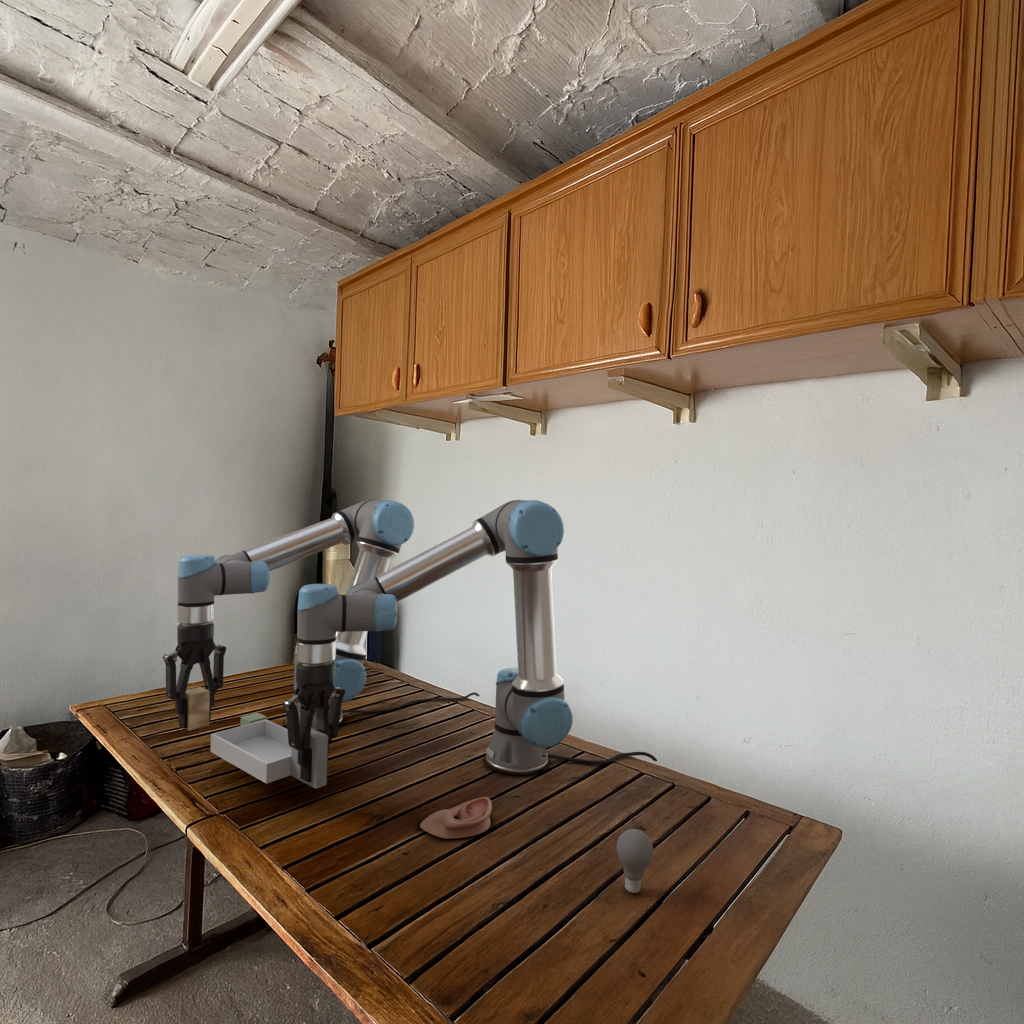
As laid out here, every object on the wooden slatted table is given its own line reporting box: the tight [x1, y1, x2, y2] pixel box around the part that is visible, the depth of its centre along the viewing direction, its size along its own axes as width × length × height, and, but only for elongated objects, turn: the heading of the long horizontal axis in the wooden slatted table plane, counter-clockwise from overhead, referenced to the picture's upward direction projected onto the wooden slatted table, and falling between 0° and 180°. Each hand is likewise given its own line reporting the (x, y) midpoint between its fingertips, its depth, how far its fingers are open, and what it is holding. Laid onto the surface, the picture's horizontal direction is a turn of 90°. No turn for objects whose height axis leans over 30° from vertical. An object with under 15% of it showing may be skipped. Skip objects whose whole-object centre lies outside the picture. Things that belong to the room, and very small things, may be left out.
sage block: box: [239, 712, 268, 726], centre depth 157 cm, size 4×4×8 cm
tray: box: [209, 719, 328, 790], centre depth 136 cm, size 32×13×10 cm, turn 51°
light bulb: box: [615, 828, 654, 894], centre depth 106 cm, size 6×6×10 cm
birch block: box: [184, 686, 210, 731], centre depth 145 cm, size 4×4×8 cm
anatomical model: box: [419, 796, 493, 840], centre depth 124 cm, size 13×4×12 cm
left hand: (194, 723), depth 145 cm, fingers closed on birch block, 4 cm apart
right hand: (312, 777), depth 128 cm, fingers closed on tray, 2 cm apart
